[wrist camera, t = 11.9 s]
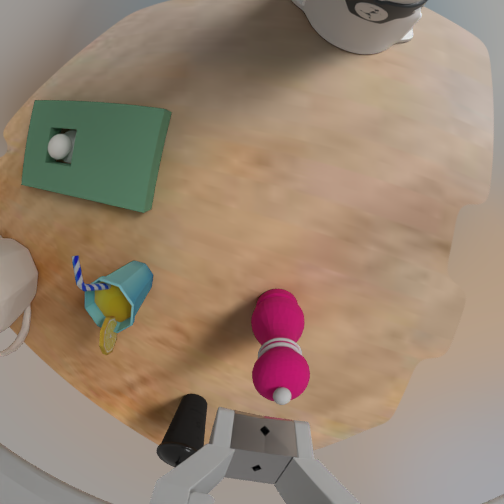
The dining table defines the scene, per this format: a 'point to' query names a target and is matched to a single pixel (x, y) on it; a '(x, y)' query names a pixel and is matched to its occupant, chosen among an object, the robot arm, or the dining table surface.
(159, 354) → the dining table surface
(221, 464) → the robot arm
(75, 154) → the putting mat
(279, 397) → the pepper mill
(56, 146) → the ball
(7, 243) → the watering can
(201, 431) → the drinking cup
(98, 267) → the dining table surface
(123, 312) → the cup
